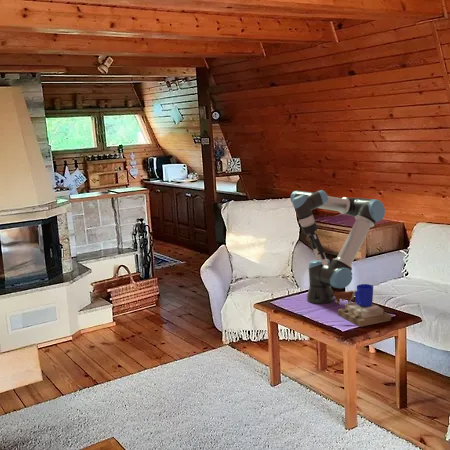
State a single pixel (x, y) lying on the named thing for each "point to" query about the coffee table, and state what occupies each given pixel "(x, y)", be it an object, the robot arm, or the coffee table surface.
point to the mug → (364, 295)
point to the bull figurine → (344, 296)
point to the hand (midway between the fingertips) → (322, 262)
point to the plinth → (363, 321)
